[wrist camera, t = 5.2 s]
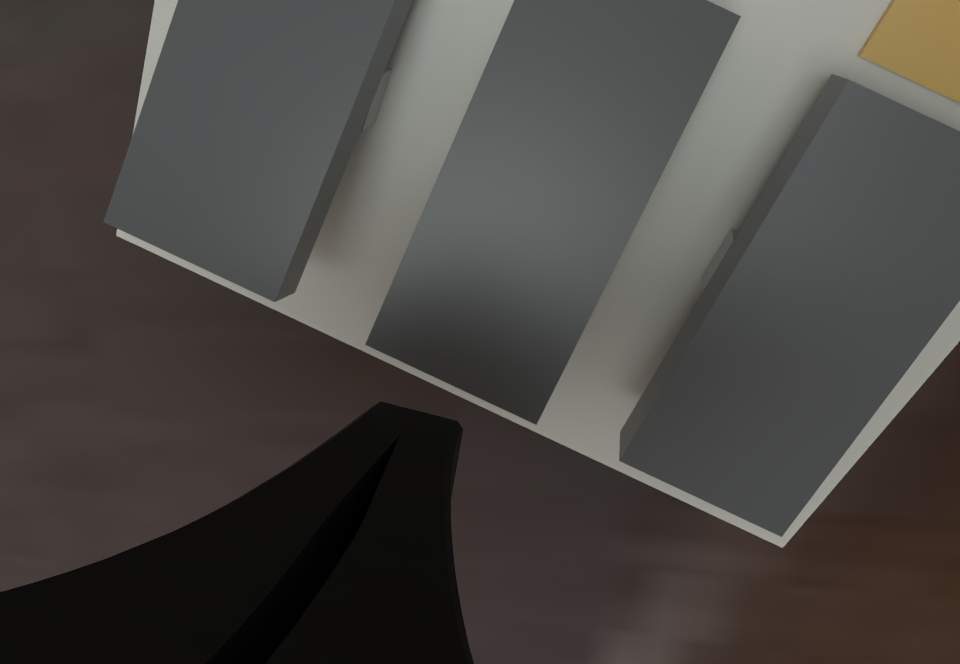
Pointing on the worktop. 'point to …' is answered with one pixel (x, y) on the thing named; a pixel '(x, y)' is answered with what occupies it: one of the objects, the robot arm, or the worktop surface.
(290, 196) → the rocker
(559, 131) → the rocker
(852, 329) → the rocker
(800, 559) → the worktop surface
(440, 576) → the robot arm
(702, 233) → the switch panel
